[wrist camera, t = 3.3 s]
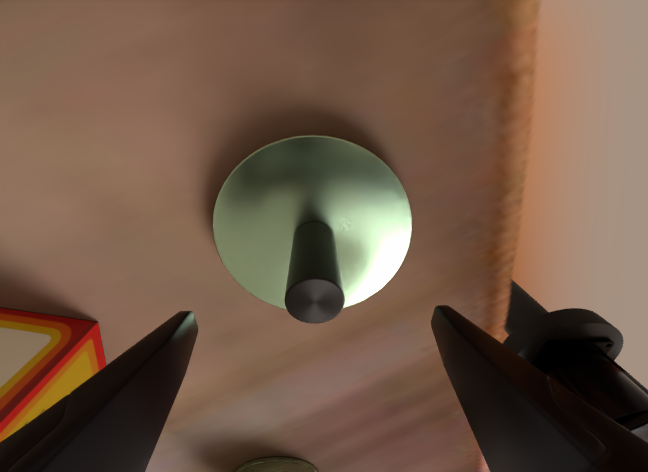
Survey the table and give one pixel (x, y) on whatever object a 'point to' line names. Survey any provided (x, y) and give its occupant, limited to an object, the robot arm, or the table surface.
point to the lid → (312, 225)
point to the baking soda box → (42, 363)
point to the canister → (277, 465)
